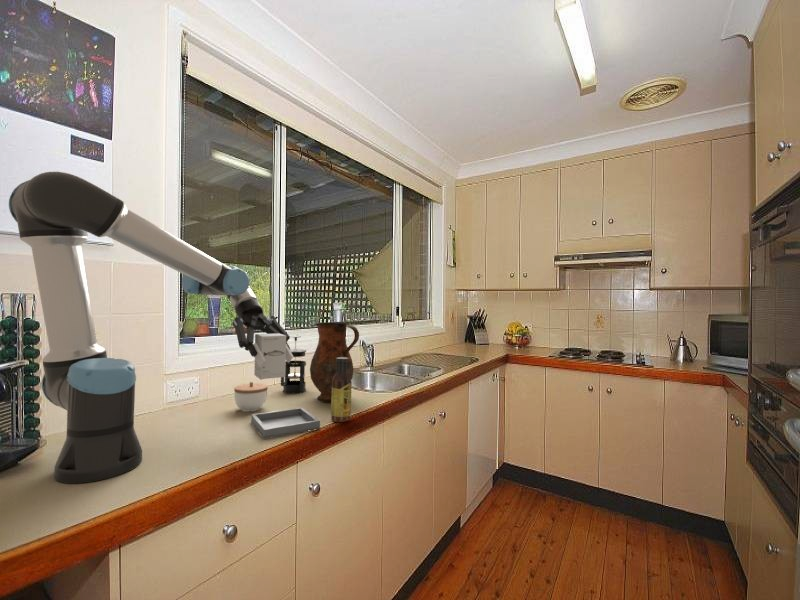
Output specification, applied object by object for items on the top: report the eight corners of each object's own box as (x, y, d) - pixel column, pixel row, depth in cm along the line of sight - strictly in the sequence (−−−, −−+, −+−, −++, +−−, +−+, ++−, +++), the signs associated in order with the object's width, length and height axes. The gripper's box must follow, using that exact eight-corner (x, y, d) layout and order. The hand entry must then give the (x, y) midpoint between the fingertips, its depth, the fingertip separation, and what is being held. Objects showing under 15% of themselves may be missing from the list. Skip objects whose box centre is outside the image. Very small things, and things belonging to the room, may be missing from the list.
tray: (264, 438, 102) (264, 429, 102) (251, 422, 116) (251, 414, 116) (319, 429, 111) (320, 420, 111) (301, 414, 124) (302, 407, 124)
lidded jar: (249, 403, 137) (249, 377, 137) (273, 407, 133) (274, 380, 133) (226, 411, 127) (227, 383, 127) (252, 415, 123) (253, 386, 123)
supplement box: (260, 380, 107) (260, 336, 107) (253, 375, 113) (254, 333, 113) (286, 377, 112) (286, 335, 111) (278, 372, 118) (279, 332, 117)
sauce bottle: (346, 424, 116) (348, 359, 117) (327, 422, 118) (329, 358, 118) (353, 417, 123) (354, 357, 123) (335, 416, 124) (336, 356, 124)
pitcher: (329, 392, 157) (331, 320, 157) (370, 400, 145) (371, 322, 145) (299, 400, 143) (300, 321, 143) (340, 410, 131) (342, 324, 131)
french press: (297, 386, 165) (298, 334, 165) (311, 390, 159) (313, 335, 159) (274, 391, 155) (275, 336, 155) (289, 395, 150) (290, 337, 150)
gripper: (270, 312, 130) (300, 364, 121) (208, 314, 112) (237, 375, 103) (280, 297, 127) (311, 349, 118) (217, 297, 109) (249, 358, 100)
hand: (277, 361), depth 111 cm, fingers closed on supplement box, 9 cm apart
